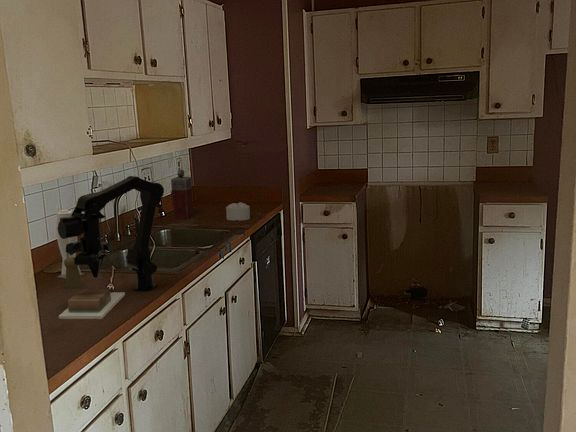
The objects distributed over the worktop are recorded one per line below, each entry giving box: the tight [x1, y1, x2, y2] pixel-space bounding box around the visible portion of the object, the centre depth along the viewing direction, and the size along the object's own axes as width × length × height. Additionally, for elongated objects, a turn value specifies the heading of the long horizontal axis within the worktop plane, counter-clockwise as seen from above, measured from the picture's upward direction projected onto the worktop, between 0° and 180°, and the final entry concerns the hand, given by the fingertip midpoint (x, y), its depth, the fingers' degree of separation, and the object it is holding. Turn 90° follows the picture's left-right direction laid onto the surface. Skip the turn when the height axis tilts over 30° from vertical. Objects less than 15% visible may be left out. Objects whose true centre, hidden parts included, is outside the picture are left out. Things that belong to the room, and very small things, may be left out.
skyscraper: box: [55, 205, 85, 280], centre depth 225 cm, size 8×8×28 cm
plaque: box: [67, 288, 111, 313], centre depth 190 cm, size 4×10×11 cm
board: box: [58, 291, 126, 320], centre depth 193 cm, size 22×14×1 cm, turn 177°
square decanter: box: [170, 169, 195, 220], centre depth 328 cm, size 9×11×28 cm
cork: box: [64, 257, 83, 290], centre depth 213 cm, size 6×6×11 cm
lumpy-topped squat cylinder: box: [225, 202, 251, 222], centre depth 324 cm, size 10×13×9 cm
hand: (95, 277), depth 195 cm, fingers closed
